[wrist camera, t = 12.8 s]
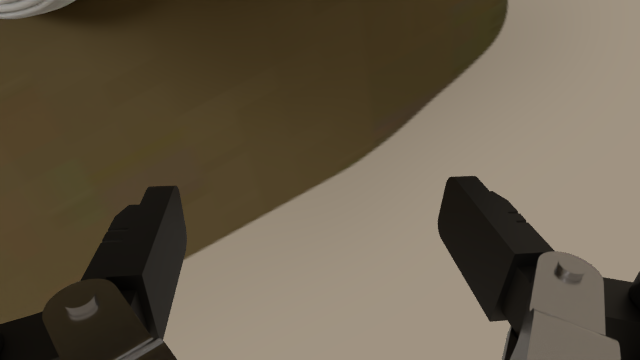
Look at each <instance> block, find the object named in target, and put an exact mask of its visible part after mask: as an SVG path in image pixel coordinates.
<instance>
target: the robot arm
mask: <svg viewBox="0 0 640 360" xmlns="http://www.w3.org/2000/svg"><path fill="white" fill-rule="evenodd" d="M438 230H439V234H440V237H441V239H442V241H443V242H444V244H445V246H446V248H447V249H448V251H449V253H450V254H451V256H452V258H453V260H454V261H455V263H456V265H457V266H458V268H459V270H460V271H461V273H462V275H463V277H464V278H465V280H466V282H467V283H468V285H469V287H470V288H471V290H472V292H473V294H474V295H475V297H476V299H477V300H478V302H479V304H480V306H481V307H482V309H483V311H484V312H485V314H486V316H487V317H488V319H489V321H503V320H508V322H509V323H510V325H511V327H510V329H509V331H508V334H507V338H506V343H505V347H504V352H503V356H502V360H640V272H639V273H638V275H637V277H636V279H635V280H634V282H627V281H621V280H615V279H610V278H603V277H602V276H601V274H600V273H599V271H598V270H597V269H596V268H595V267H593V266H592V265H591V264H589V263H588V262H587V261H585V260H583V259H581V258H579V257H577V256H574V255H571V254H568V253H564V252H555V251H554V250H553V249H552V248H551V247H550V246H549V245H548V243H547V242H546V241H545V240H544V239H543V238H542V237H541V236H540V235H539V234H538V233H537V232H536V231H535V230H534V228H533V227H532V226H531V225H530V224H529V223H526V220H525V219H524V218H523V216H521V214H518V211H517V210H516V209H515V208H514V207H513V206H512V205H511V203H510V202H509V201H508V200H506V199H504V198H503V197H501V196H499V195H498V194H496V193H495V192H493V191H489V190H488V189H487V188H486V187H485V186H484V185H483V183H482V182H480V180H479V179H478V178H477V177H475V176H463V177H450V178H449V179H448V180H447V182H446V186H445V190H444V195H443V199H442V204H441V208H440V213H439V217H438ZM102 241H103V242H102V243H101V244H100V245H99V247H98V249H97V251H96V253H95V255H94V257H93V258H92V260H91V262H90V264H89V266H88V268H87V270H86V271H85V273H84V275H83V277H82V279H81V281H79V282H76V283H74V284H71V285H69V286H67V287H65V288H64V289H62V290H60V291H59V292H58V293H56V294H55V295H54V296H53V297H52V298H51V299H50V300H49V301H48V302H47V304H46V305H45V307H44V309H43V312H40V313H37V314H34V315H31V316H27V317H24V318H20V319H17V320H13V321H10V322H7V323H3V324H0V360H177V359H176V357H175V356H174V355H173V353H172V352H171V350H170V349H169V348H168V346H167V345H166V344H165V343H164V341H163V337H164V334H165V330H166V326H167V322H168V317H169V314H170V310H171V306H172V302H173V298H174V294H175V290H176V286H177V282H178V278H179V274H180V270H181V267H182V263H183V259H184V255H185V251H186V243H187V235H186V227H185V221H184V215H183V210H182V204H181V199H180V193H179V189H178V187H177V186H156V187H148V188H147V190H146V192H145V194H144V197H143V199H142V201H141V203H140V205H128V206H127V207H126V208H125V209H124V210H122V211H121V212H120V213H119V214H118V215H116V216H115V218H114V220H113V221H112V223H111V225H110V227H109V229H108V232H106V234H105V236H104V238H103V240H102Z"/></svg>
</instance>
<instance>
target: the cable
mask: <svg viewBox="0 0 640 360" xmlns="http://www.w3.org/2000/svg"><path fill="white" fill-rule="evenodd" d="M74 1H75V0H0V19H19V18H25V17H29V16H34V15H38V14H44V13H47V12H50V11H53V10H57V9H60V8H62V7H64V6H67V5H68V4H70V3H72V2H74Z"/></svg>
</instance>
